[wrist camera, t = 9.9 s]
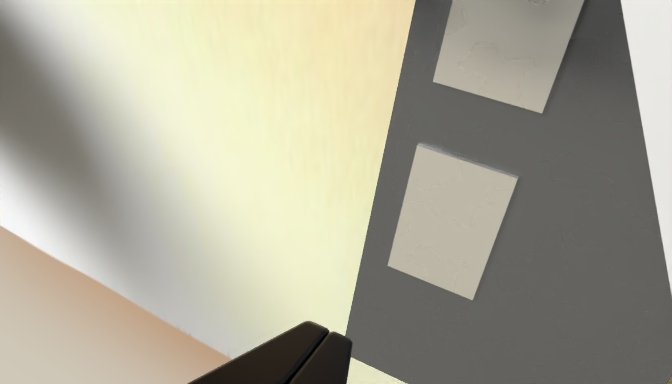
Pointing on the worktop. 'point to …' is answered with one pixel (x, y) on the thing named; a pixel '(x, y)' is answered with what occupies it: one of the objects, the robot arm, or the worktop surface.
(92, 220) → the worktop surface
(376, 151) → the worktop surface
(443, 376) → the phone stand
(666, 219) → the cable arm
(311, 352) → the robot arm
